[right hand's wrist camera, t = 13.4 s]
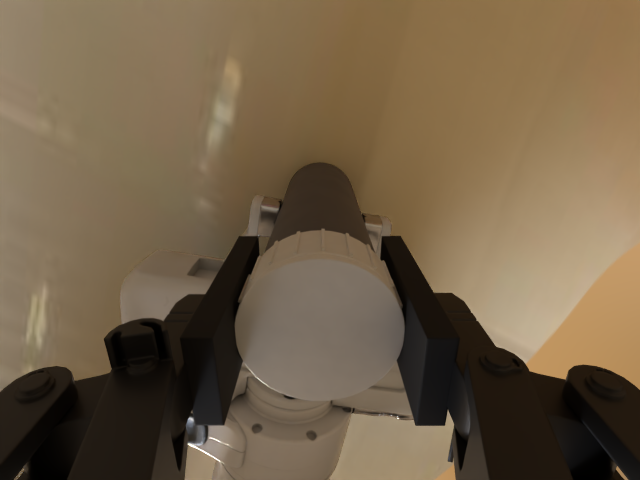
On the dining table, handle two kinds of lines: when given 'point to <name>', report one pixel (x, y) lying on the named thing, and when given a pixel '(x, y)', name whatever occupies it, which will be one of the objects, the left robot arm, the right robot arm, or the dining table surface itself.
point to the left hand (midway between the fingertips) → (321, 208)
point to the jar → (319, 205)
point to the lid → (319, 317)
